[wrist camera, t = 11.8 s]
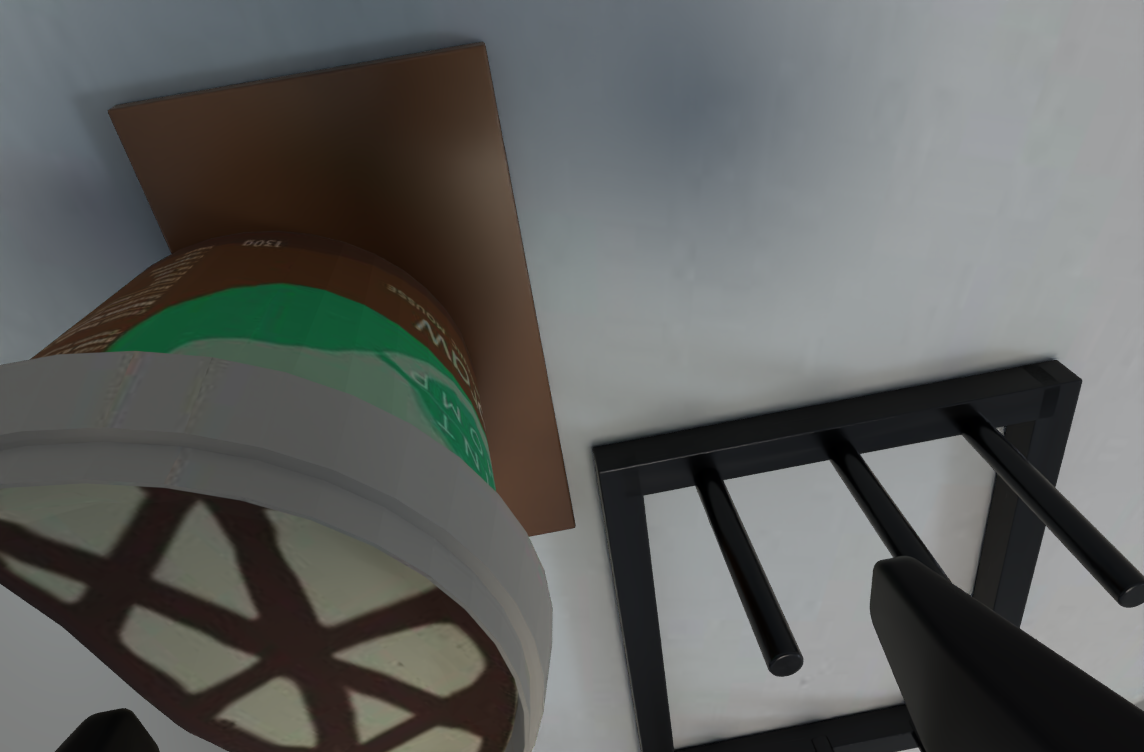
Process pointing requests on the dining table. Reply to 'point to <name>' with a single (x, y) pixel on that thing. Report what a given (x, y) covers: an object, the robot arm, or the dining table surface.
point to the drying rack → (840, 434)
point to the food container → (277, 506)
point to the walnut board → (378, 213)
